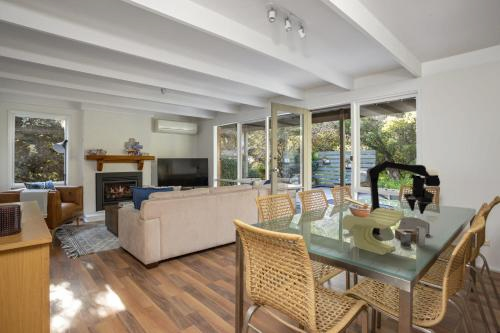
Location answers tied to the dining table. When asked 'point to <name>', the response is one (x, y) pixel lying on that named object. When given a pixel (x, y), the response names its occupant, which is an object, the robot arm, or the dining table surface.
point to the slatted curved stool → (366, 225)
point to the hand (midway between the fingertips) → (416, 212)
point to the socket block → (412, 232)
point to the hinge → (414, 224)
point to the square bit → (420, 236)
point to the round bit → (405, 239)
